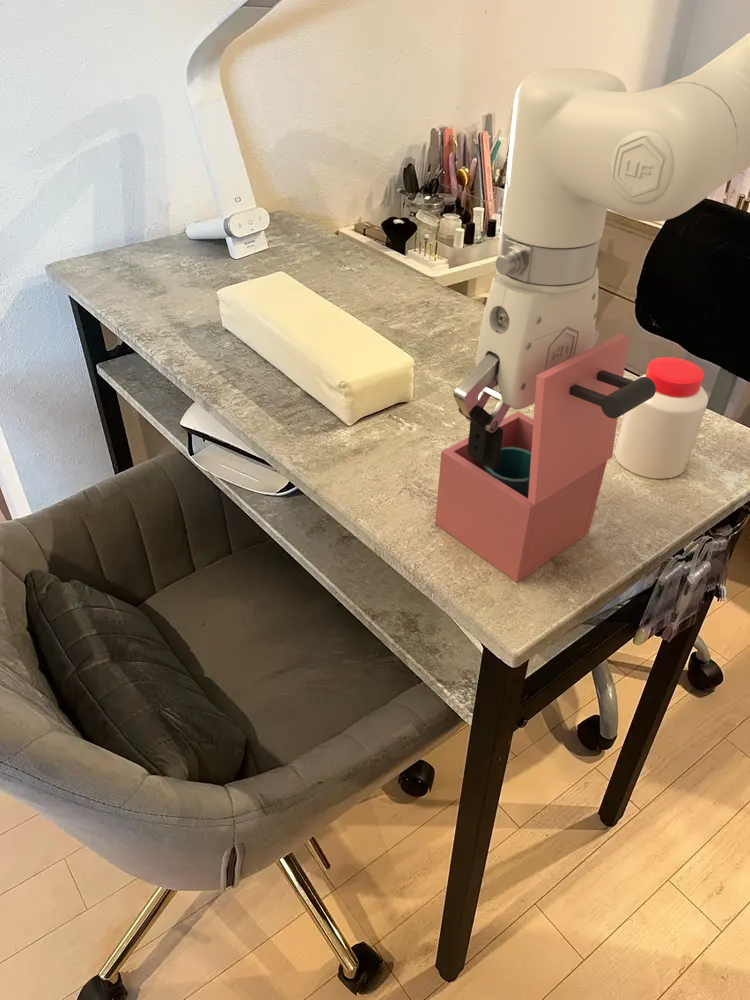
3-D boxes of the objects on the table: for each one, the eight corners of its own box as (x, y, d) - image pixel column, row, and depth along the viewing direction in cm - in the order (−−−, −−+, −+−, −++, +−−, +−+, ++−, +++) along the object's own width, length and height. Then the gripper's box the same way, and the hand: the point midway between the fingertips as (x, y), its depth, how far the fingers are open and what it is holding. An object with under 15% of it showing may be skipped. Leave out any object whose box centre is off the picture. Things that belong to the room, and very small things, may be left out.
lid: (536, 374, 57) (599, 398, 54) (620, 333, 63) (683, 352, 59) (527, 501, 64) (583, 530, 60) (604, 454, 69) (660, 477, 65)
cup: (537, 506, 76) (547, 453, 72) (527, 540, 72) (537, 486, 68) (484, 494, 78) (491, 442, 74) (471, 527, 74) (478, 473, 70)
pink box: (434, 523, 75) (441, 450, 70) (507, 481, 81) (518, 410, 75) (516, 582, 69) (530, 507, 64) (588, 533, 75) (607, 459, 69)
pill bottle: (600, 456, 85) (621, 368, 78) (638, 430, 89) (662, 344, 82) (662, 488, 80) (690, 398, 73) (700, 459, 84) (730, 371, 77)
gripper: (508, 302, 52) (483, 499, 63) (654, 242, 61) (611, 424, 71) (431, 268, 56) (420, 458, 67) (578, 217, 65) (548, 393, 76)
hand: (519, 441), depth 69 cm, fingers open, 9 cm apart
